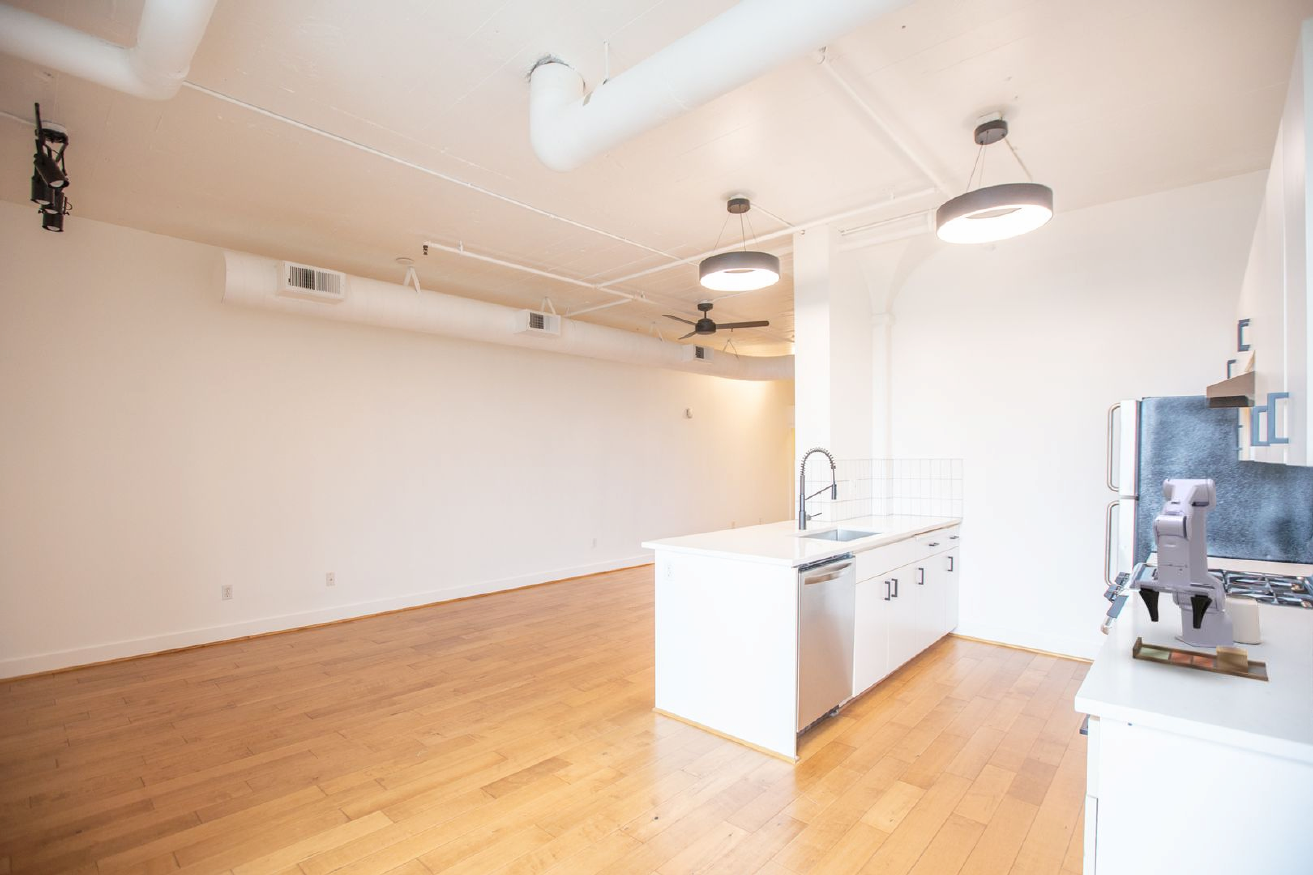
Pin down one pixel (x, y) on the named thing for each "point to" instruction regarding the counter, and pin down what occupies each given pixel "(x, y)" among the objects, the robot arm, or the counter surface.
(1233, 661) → the block
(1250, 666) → the tray
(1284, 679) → the counter surface
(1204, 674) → the counter surface
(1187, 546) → the robot arm
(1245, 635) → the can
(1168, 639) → the counter surface
